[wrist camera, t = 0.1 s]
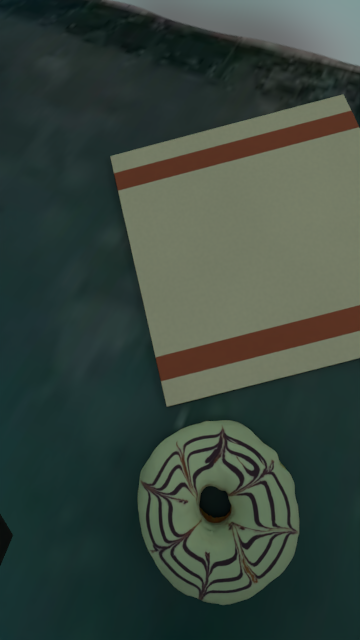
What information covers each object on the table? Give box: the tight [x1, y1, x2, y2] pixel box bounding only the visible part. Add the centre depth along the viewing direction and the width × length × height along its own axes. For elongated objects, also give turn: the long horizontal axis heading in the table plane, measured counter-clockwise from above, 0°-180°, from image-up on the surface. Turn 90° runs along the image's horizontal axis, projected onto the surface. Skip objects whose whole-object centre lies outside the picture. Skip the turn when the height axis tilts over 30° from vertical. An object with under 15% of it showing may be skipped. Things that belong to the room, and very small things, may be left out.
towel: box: [110, 95, 360, 407], centre depth 29 cm, size 24×23×1 cm
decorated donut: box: [137, 420, 299, 605], centre depth 23 cm, size 10×11×4 cm
